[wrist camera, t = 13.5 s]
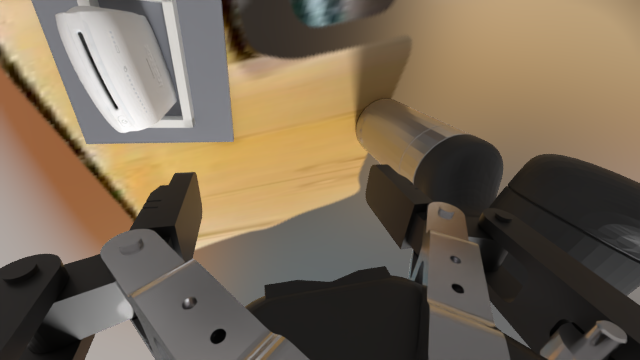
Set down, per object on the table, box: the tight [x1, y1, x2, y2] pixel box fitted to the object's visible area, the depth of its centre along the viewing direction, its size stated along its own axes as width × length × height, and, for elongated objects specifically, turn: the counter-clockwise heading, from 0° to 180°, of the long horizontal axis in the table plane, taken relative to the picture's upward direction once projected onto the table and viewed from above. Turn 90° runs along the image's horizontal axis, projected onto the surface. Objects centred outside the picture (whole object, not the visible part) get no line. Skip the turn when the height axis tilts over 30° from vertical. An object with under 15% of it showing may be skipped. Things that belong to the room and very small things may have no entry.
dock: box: [31, 0, 234, 144], centre depth 30 cm, size 18×20×3 cm
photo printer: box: [55, 6, 177, 133], centre depth 25 cm, size 10×4×12 cm, turn 6°
